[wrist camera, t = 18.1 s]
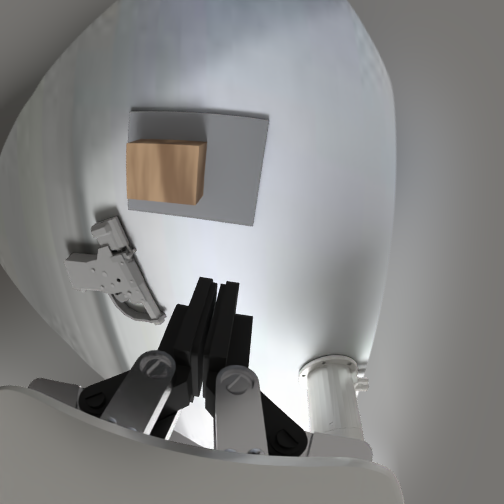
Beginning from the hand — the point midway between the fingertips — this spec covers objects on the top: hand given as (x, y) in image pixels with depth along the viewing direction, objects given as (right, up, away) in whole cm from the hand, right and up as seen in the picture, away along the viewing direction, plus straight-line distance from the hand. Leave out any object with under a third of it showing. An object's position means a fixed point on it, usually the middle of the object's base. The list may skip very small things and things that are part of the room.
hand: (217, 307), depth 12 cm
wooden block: (-4, +12, +20) cm, 23 cm away
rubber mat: (-6, +13, +22) cm, 26 cm away
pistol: (-23, -2, +32) cm, 40 cm away
